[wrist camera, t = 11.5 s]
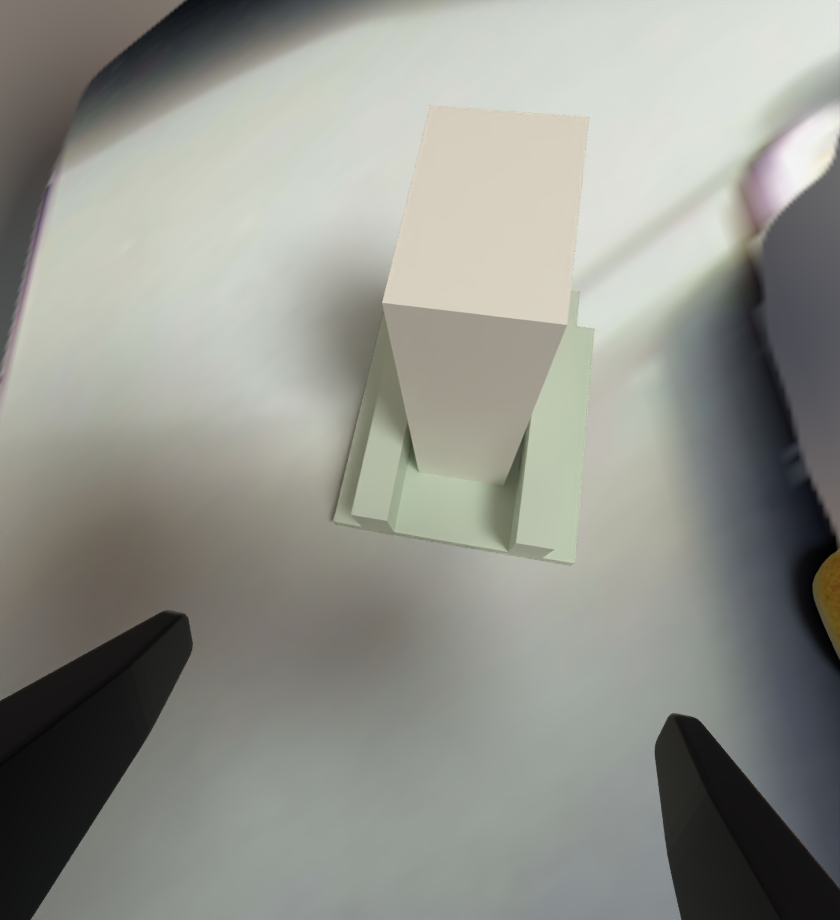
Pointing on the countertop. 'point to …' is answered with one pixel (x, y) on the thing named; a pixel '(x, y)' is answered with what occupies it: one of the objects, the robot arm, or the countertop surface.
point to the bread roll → (829, 597)
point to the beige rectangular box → (483, 281)
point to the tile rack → (469, 502)
